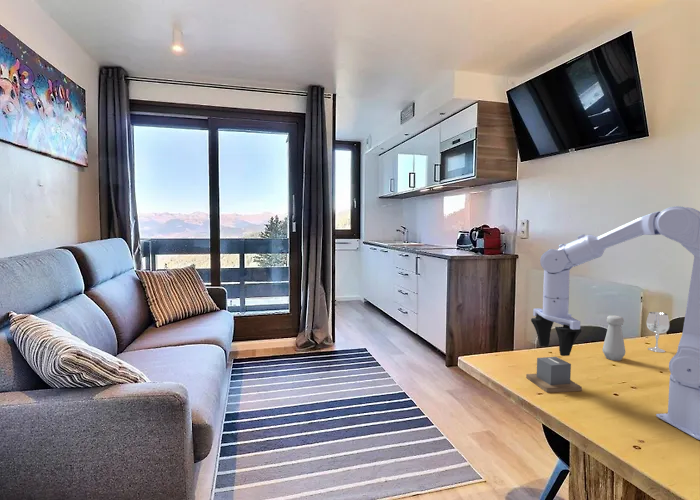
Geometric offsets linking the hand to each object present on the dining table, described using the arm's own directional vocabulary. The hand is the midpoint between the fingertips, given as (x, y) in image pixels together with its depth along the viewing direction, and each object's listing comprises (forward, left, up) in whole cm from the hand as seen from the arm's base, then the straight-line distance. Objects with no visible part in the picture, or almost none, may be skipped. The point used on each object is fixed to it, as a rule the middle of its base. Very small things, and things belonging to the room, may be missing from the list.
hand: (554, 350), depth 98 cm
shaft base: (0, 0, -9) cm, 9 cm away
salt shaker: (+16, -30, -9) cm, 35 cm away
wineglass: (+22, -50, -9) cm, 55 cm away
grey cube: (0, 0, -8) cm, 8 cm away
